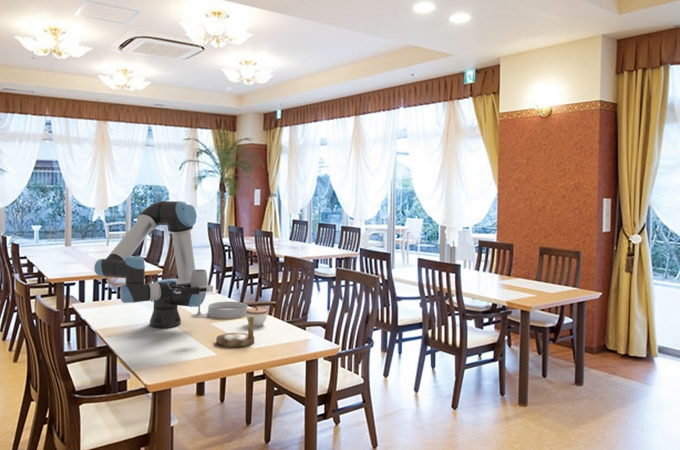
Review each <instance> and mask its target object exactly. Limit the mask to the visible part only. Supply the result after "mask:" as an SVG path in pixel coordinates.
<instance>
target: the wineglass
mask: <svg viewBox="0 0 680 450" xmlns="http://www.w3.org/2000/svg"><path fill="white" fill-rule="evenodd" d="M200 286H209V281H208V272H207V269H199V268H198V269H195V270H193V271H192V276H191V287H200ZM203 293H204V292H203ZM203 293H199V295H198V294H196V295H197V296H198V307H197V308H198V311H197V313H195V314H192V315H190V317H191V318H192V319H203V318H207V317H208V314H206V313H201V305H200V297H201V295H202V294H203Z"/></svg>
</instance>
